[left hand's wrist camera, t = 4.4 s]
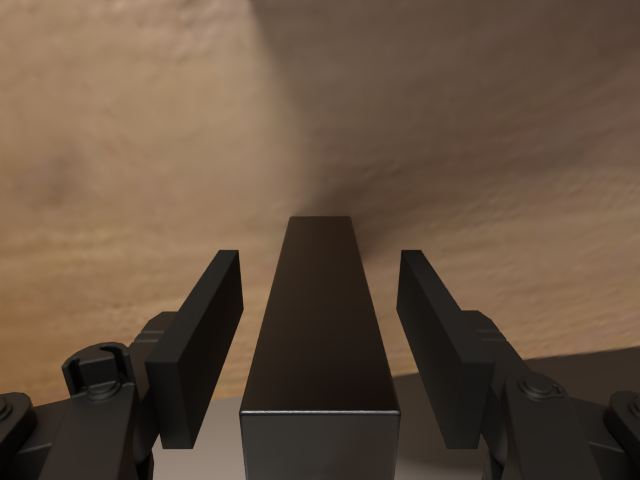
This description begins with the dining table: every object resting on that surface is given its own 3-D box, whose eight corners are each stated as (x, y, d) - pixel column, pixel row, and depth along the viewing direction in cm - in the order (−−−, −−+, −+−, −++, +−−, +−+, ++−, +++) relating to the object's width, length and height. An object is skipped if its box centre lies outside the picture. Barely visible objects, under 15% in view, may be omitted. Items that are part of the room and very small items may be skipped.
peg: (291, 271, 19) (248, 520, 8) (289, 216, 18) (237, 412, 7) (348, 271, 19) (390, 520, 8) (350, 216, 18) (402, 413, 7)
